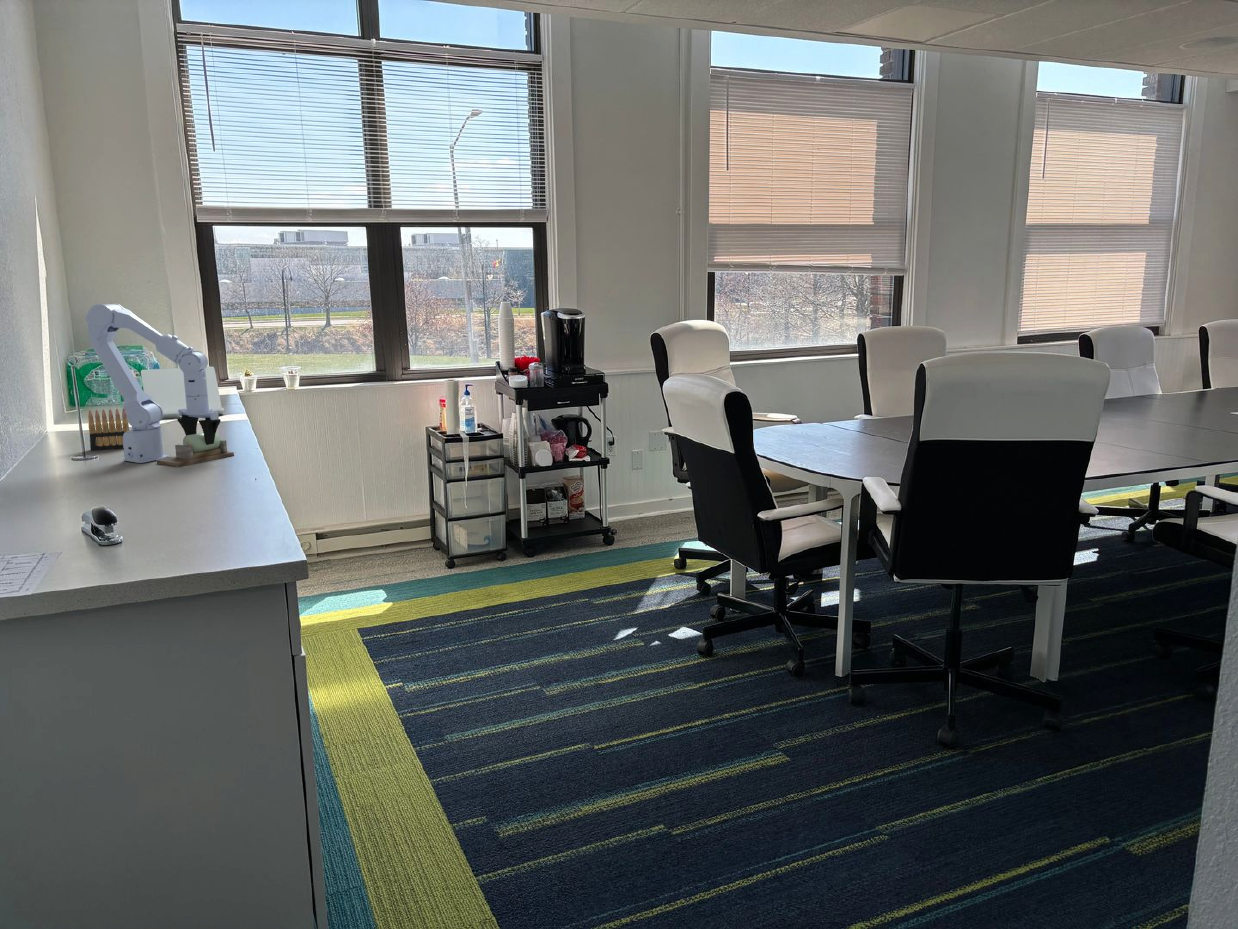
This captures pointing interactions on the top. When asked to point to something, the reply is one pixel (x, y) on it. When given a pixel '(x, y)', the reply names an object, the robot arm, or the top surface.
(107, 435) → the ammunition clip
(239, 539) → the top surface
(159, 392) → the tablet stand
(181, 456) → the holder
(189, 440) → the roll
